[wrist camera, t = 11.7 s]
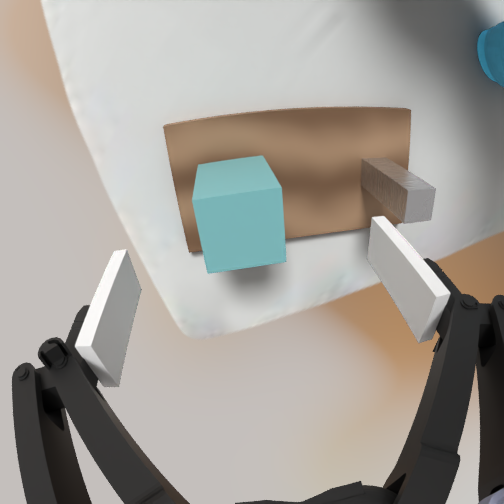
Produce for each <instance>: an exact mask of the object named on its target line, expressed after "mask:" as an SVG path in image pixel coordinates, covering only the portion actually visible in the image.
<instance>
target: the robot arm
mask: <svg viewBox="0 0 504 504" xmlns="http://www.w3.org/2000/svg"><path fill="white" fill-rule="evenodd" d="M367 260H368V262H369V263H370V265H371V266H372V268H373V269H374V271H375V272H376V274H377V275H378V277H379V278H380V280H381V282H382V283H383V285H384V286H385V288H386V289H387V291H388V293H389V294H390V296H391V297H392V299H393V301H394V302H395V304H396V306H397V307H398V309H399V310H400V312H401V314H402V315H403V317H404V319H405V320H406V322H407V324H408V326H409V327H410V329H411V330H412V332H413V334H414V336H415V338H416V339H417V341H418V343H421V342H424V341H427V340H431V339H432V338H433V336H434V334H435V331H436V330H437V332H438V333H439V335H440V337H439V339H438V341H437V343H436V345H435V348H434V350H433V352H435V354H434V358H433V362H432V365H431V369H430V373H429V376H428V379H427V383H426V386H425V389H424V393H423V396H422V399H421V402H420V405H419V408H418V411H417V414H416V417H415V419H414V422H413V425H412V427H411V430H410V432H409V435H408V438H407V440H406V443H405V445H404V448H403V450H402V452H401V454H400V457H399V459H398V461H397V464H396V466H395V468H394V469H393V471H392V473H391V474H390V476H389V477H388V479H387V480H386V482H385V484H384V486H383V488H382V487H377V486H367V485H362V483H361V481H359V482H355V483H352V484H348V485H344V486H340V487H336V488H332V489H330V490H327V491H325V492H323V493H321V494H319V495H317V496H314V497H312V498H310V499H308V500H305V501H303V502H284V501H272V500H262V501H254V502H242V503H235V504H445V503H446V500H447V498H448V496H449V493H450V490H451V487H452V484H453V482H454V479H455V476H456V473H457V470H458V467H459V463H460V455H458V454H457V451H458V446H459V442H460V439H461V435H462V432H463V428H464V424H465V419H466V415H467V410H468V406H469V401H470V396H471V391H472V385H473V378H474V373H475V366H476V368H477V378H478V390H479V406H480V463H479V482H478V495H479V503H478V504H504V296H503V295H497V296H495V297H494V299H493V301H492V303H491V304H482V303H479V302H478V300H476V299H475V298H474V297H473V296H470V295H467V294H461V292H460V291H459V290H458V289H457V288H456V286H455V285H454V284H453V283H452V282H451V280H450V279H449V278H448V277H447V275H446V274H445V273H444V272H442V269H441V268H439V266H438V265H437V264H436V263H435V262H433V261H432V260H430V259H429V258H426V259H422V258H421V256H420V255H419V254H418V253H417V252H416V251H415V249H414V248H413V247H412V246H411V245H410V244H409V243H408V241H407V240H406V239H405V238H404V237H403V236H402V235H401V234H400V233H399V232H398V230H397V229H396V228H395V227H394V226H393V225H392V224H391V223H390V222H389V221H388V220H387V219H386V218H385V216H378V217H372V220H371V229H370V238H369V246H368V254H367ZM141 290H142V289H141V287H140V284H139V281H138V279H137V276H136V273H135V271H134V268H133V265H132V262H131V260H130V257H129V254H128V251H127V250H119V251H114V253H113V255H112V257H111V259H110V261H109V263H108V266H107V268H106V270H105V272H104V274H103V277H102V279H101V281H100V284H99V286H98V288H97V291H96V293H95V295H94V298H93V300H92V303H91V305H86V306H83V307H82V308H81V310H80V311H79V312H78V313H77V315H76V318H75V320H74V323H73V325H72V327H71V330H70V332H69V335H68V338H67V340H66V342H65V343H64V342H63V341H62V340H61V339H60V338H57V337H55V338H51V339H49V340H46V341H45V342H44V343H43V344H42V345H41V347H40V348H39V351H38V357H39V359H40V360H41V362H43V364H44V365H45V367H42V368H38V369H35V368H34V367H33V365H31V364H30V363H23V364H21V365H20V366H18V367H17V368H16V369H15V371H14V373H13V376H12V399H13V417H14V429H15V438H16V447H17V454H18V461H19V467H20V472H21V478H22V483H23V488H24V493H25V497H26V501H27V504H92V503H91V500H90V497H89V495H88V492H87V489H86V486H85V483H84V480H83V477H82V473H81V470H80V467H79V464H78V460H77V457H76V453H75V449H74V446H73V442H72V438H71V434H70V429H69V425H68V420H67V416H66V411H65V408H66V410H67V412H68V414H69V416H70V418H71V420H72V422H73V424H74V426H75V427H76V429H77V431H78V433H79V435H80V436H81V438H82V440H83V442H84V443H85V445H86V447H87V449H88V450H89V452H90V454H91V455H92V457H93V458H94V460H95V462H96V463H97V465H98V466H99V468H100V469H101V471H102V473H103V474H104V476H105V477H106V479H107V480H108V482H109V483H110V484H111V486H112V487H113V489H114V490H115V491H116V493H117V494H118V496H119V497H120V498H121V500H122V501H123V502H124V504H190V503H189V502H188V501H187V500H185V499H184V498H183V496H182V495H181V494H180V493H179V492H178V491H177V490H176V489H175V488H174V487H173V486H172V485H171V484H170V483H169V481H168V480H167V479H166V478H165V477H164V476H163V475H162V474H161V473H160V471H159V470H158V469H157V468H156V467H155V465H153V463H152V462H151V461H150V460H149V458H148V457H147V456H146V455H145V453H144V452H143V451H142V450H141V448H140V447H139V446H138V445H137V444H136V442H135V441H134V439H133V438H132V437H131V435H130V434H129V433H128V431H127V430H126V429H125V428H124V426H123V425H122V423H121V422H120V420H119V419H118V418H117V416H116V415H115V413H114V412H113V410H112V409H111V407H110V406H109V404H108V403H107V401H106V400H105V398H104V397H103V395H102V394H101V392H100V391H99V389H98V388H97V387H96V386H97V382H98V380H99V381H100V382H101V384H102V385H103V386H104V387H119V384H120V379H121V373H122V369H123V364H124V359H125V355H126V350H127V346H128V342H129V337H130V333H131V329H132V325H133V321H134V317H135V313H136V309H137V305H138V301H139V297H140V293H141Z"/></svg>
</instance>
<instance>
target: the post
mask: <svg viewBox="0 0 504 504" xmlns="http://www.w3.org/2000/svg"><path fill="white" fill-rule="evenodd" d="M361 186H363V187H364V188H365V189H366V190H367V191H368V192H370V193H371V194H372V195H373V196H374V197H375V198H376V199H377V200H379V201H380V202H381V203H382V204H383V205H384V206H385V207H386V208H388V209H389V210H390V211H391V212H392V213H393V214H394V215H395V216H396V217H397V218H398V219H399V220H401V221H402V222H403V223H404V224H406V223H413V222H421V221H428V220H431V216H432V210H433V204H434V198H435V191H436V188H434V187H433V186H431V185H430V184H428V183H427V182H425V181H423V180H422V179H420V178H419V177H417V176H416V175H414V174H413V173H411V172H409V171H408V170H406V169H404V168H403V167H401V166H400V165H398V164H396V163H395V162H393V161H391V160H389V159H388V158H386V157H383V158H362V163H361Z"/></svg>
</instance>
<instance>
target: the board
mask: <svg viewBox="0 0 504 504" xmlns="http://www.w3.org/2000/svg"><path fill="white" fill-rule="evenodd" d="M410 125H411V110H409V109H406V108H390V107H311V108H292V109H278V110H266V111H255V112H246V113H237V114H229V115H221V116H214V117H207V118H201V119H195V120H189V121H183V122H177V123H172V124H167V125H164V126H163V128H164V133H165V139H166V145H167V150H168V155H169V161H170V166H171V171H172V176H173V181H174V186H175V191H176V196H177V201H178V205H179V210H180V215H181V219H182V224H183V228H184V233H185V237H186V241H187V246H188V250H189V253H190V252H197V251H203V250H202V246H201V241H200V237H199V232H198V227H197V222H196V218H195V213H194V208H193V203H192V197H193V191H194V185H195V179H196V173H197V168H198V165H199V164H205V163H211V162H218V161H224V160H231V159H238V158H246V157H253V156H261V155H263V157H264V158H265V160H266V162H267V163H268V165H269V167H270V168H271V170H272V172H273V173H274V175H275V177H276V178H277V180H278V182H279V184H280V185H281V187H282V198H283V213H284V229H285V239H288V238H295V237H303V236H310V235H317V234H325V233H332V232H339V231H347V230H354V229H361V228H369V227H371V220H372V217H378V216H385V218H386V219H387V220H388V221H389V222H390V223H391V224H399V223H402V221H401V220H399V219H398V218H397V217H396V216H395V215H394V214H393V213H392V212H391V211H390V210H389V209H388V208H386V207H385V206H384V205H383V204H382V203H381V202H380V201H379V200H377V199H376V198H375V197H374V196H373V195H372V194H371V193H370V192H368V191H367V190H366V189H365V188H364V187H363V186H361V163H362V158H383V157H386V158H388V159H389V160H391V161H393V162H395V163H396V164H398V165H400V166H401V167H403V168H404V169H406V170H408V162H409V147H410Z"/></svg>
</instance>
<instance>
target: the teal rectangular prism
mask: <svg viewBox="0 0 504 504" xmlns="http://www.w3.org/2000/svg"><path fill="white" fill-rule="evenodd" d="M192 203H193V208H194V213H195V218H196V222H197V227H198V232H199V237H200V241H201V246H202V250H203V255H204V260H205V264H206V268H207V273H208V274H209V273H216V272H223V271H230V270H236V269H243V268H250V267H256V266H263V265H269V264H276V263H282V262H286V246H285V229H284V213H283V198H282V187H281V185H280V184H279V182H278V180H277V178H276V177H275V175H274V173H273V172H272V170H271V168H270V167H269V165H268V163H267V162H266V160H265V158H264V157H263V155H261V156H253V157H246V158H238V159H231V160H224V161H218V162H211V163H205V164H199V165H198V168H197V173H196V179H195V185H194V191H193V197H192Z"/></svg>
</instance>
